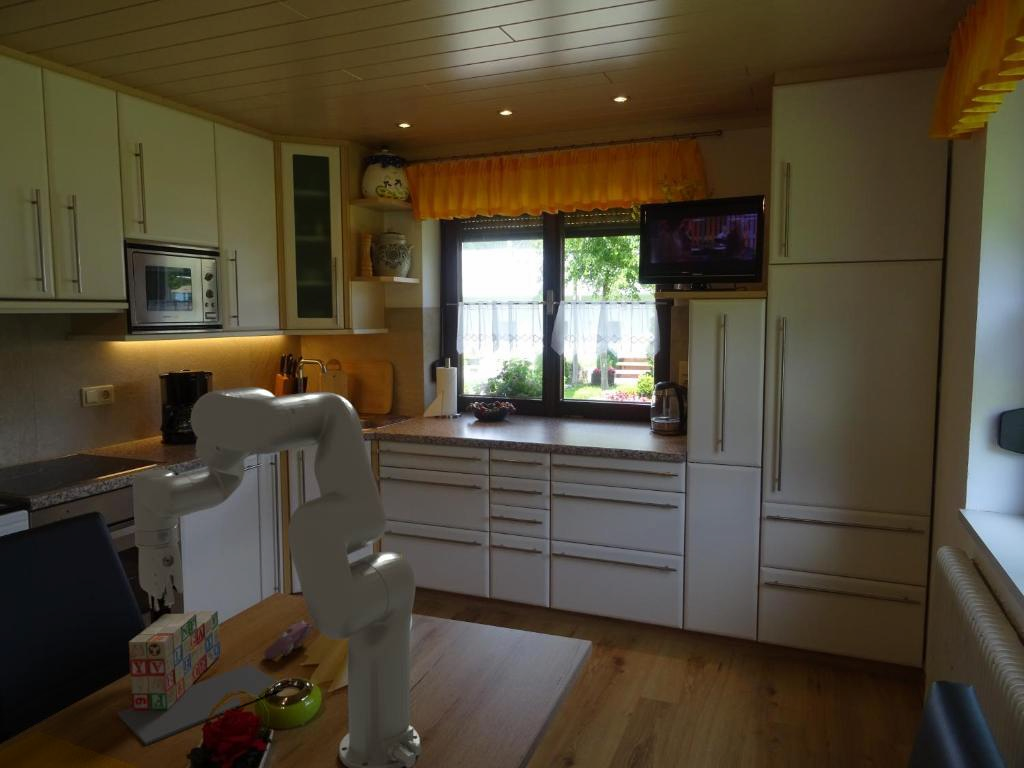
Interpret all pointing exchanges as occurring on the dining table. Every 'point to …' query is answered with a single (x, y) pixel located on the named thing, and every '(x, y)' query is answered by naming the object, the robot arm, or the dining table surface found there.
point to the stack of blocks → (171, 657)
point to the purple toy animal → (289, 640)
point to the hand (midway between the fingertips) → (161, 627)
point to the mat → (195, 704)
